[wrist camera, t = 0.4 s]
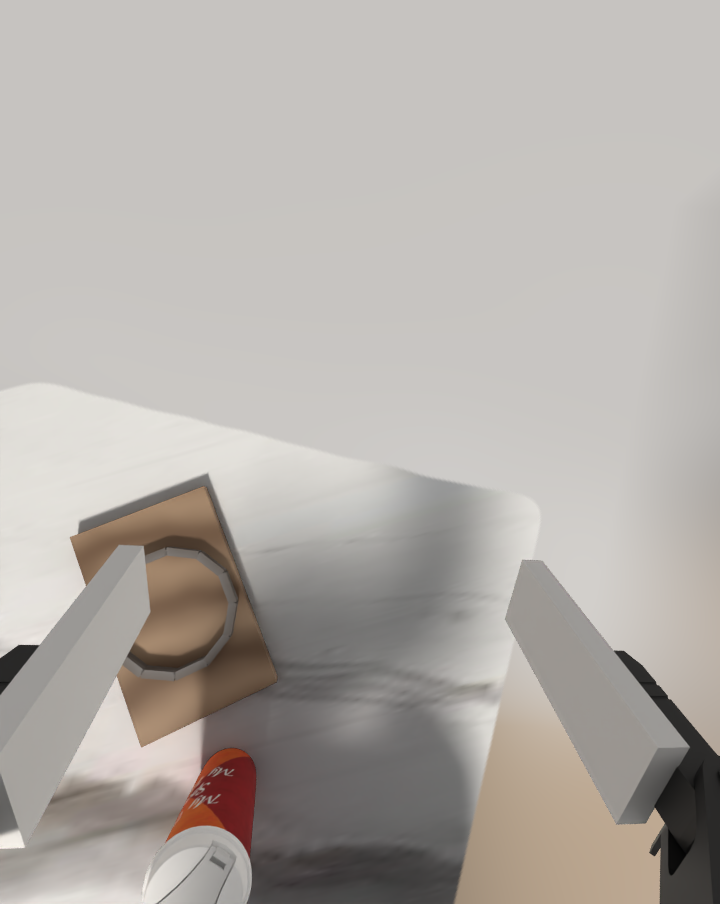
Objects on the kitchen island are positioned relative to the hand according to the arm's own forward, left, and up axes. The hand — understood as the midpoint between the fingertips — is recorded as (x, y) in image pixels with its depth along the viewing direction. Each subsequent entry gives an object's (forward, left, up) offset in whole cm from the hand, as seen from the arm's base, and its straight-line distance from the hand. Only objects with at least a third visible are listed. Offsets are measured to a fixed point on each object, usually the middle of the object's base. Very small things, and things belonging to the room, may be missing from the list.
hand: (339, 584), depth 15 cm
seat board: (-1, +16, -33) cm, 37 cm away
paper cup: (-19, +17, -34) cm, 42 cm away
